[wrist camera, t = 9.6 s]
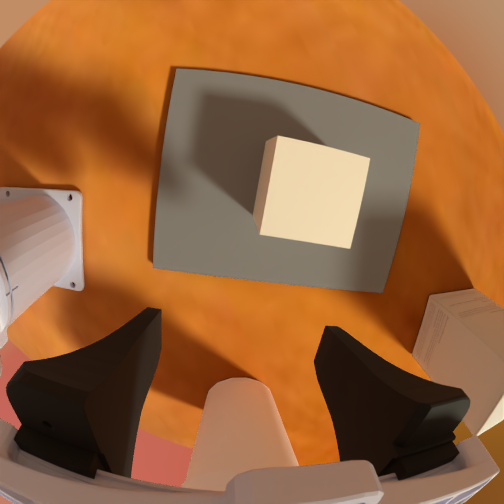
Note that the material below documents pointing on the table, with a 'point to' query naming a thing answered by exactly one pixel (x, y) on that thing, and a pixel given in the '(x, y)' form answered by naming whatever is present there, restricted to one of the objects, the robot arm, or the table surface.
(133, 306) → the table surface
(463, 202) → the table surface
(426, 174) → the table surface
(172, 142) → the charcoal mat
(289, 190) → the cream cube
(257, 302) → the table surface
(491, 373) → the supplement box
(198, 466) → the foam cup
